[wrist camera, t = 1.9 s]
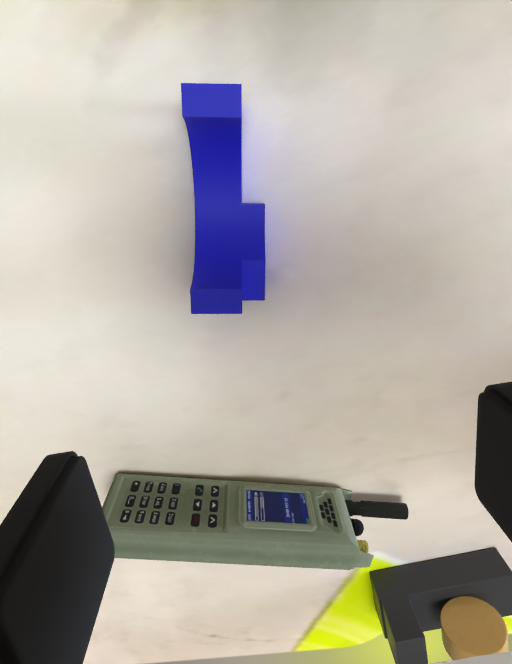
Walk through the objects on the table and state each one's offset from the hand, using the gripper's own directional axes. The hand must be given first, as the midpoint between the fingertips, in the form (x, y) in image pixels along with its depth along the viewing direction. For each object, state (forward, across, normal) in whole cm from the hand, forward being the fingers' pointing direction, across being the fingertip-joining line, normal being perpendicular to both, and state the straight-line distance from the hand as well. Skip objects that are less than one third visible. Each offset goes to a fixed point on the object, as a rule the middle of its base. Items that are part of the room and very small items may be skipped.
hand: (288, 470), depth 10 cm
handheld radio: (+22, +2, +19) cm, 29 cm away
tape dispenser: (+21, -13, +32) cm, 41 cm away
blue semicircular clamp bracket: (+22, 0, -5) cm, 23 cm away
